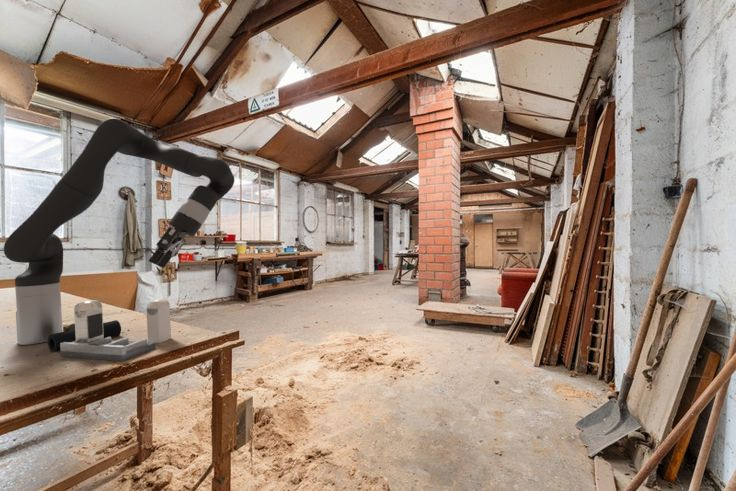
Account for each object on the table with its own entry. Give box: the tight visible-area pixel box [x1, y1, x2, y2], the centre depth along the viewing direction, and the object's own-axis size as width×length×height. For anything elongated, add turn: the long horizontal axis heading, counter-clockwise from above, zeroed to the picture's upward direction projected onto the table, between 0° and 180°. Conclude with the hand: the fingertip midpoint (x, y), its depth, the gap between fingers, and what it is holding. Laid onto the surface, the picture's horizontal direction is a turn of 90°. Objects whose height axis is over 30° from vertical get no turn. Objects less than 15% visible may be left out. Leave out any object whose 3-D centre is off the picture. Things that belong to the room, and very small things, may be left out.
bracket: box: [60, 299, 156, 362], centre depth 80 cm, size 20×9×14 cm, turn 78°
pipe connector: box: [47, 319, 122, 353], centre depth 90 cm, size 12×5×15 cm
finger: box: [145, 298, 172, 344], centre depth 89 cm, size 4×4×12 cm
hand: (156, 264), depth 85 cm, fingers open, 8 cm apart
